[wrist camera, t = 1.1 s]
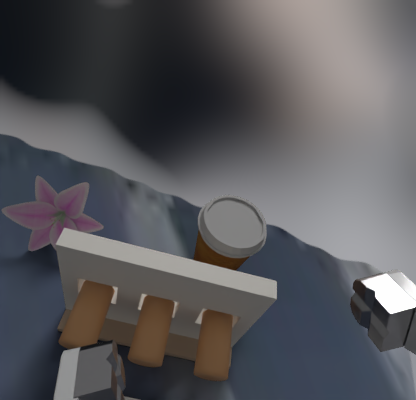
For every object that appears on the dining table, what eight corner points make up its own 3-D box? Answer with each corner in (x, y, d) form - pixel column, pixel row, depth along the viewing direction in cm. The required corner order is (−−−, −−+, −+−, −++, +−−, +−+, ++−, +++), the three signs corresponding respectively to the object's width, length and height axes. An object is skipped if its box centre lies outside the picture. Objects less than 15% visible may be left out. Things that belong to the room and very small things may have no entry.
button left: (59, 347, 35) (57, 336, 33) (83, 290, 40) (82, 276, 37) (94, 355, 36) (94, 344, 33) (114, 297, 40) (115, 284, 37)
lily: (3, 225, 50) (-22, 218, 41) (62, 169, 54) (52, 151, 45) (66, 278, 51) (56, 282, 42) (120, 219, 55) (121, 212, 46)
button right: (190, 376, 37) (197, 367, 34) (199, 318, 41) (206, 306, 38) (222, 383, 37) (232, 374, 34) (228, 324, 41) (237, 313, 39)
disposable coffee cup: (239, 300, 51) (269, 259, 42) (177, 285, 50) (194, 240, 41) (243, 247, 57) (270, 203, 48) (188, 233, 56) (205, 185, 47)
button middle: (126, 362, 36) (128, 351, 33) (142, 304, 40) (145, 291, 38) (159, 369, 36) (164, 359, 34) (172, 311, 41) (177, 299, 38)
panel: (58, 330, 42) (43, 267, 30) (79, 280, 47) (74, 208, 35) (228, 368, 44) (276, 323, 32) (232, 316, 49) (276, 260, 37)
